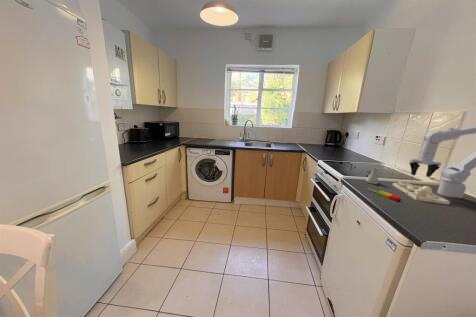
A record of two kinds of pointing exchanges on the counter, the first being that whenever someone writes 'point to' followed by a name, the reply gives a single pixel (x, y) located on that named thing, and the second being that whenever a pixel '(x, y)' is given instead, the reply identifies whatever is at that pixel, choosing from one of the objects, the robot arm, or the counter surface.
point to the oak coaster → (404, 183)
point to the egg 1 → (421, 193)
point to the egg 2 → (427, 189)
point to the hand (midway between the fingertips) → (420, 175)
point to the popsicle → (387, 195)
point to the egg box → (429, 198)
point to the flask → (373, 176)
